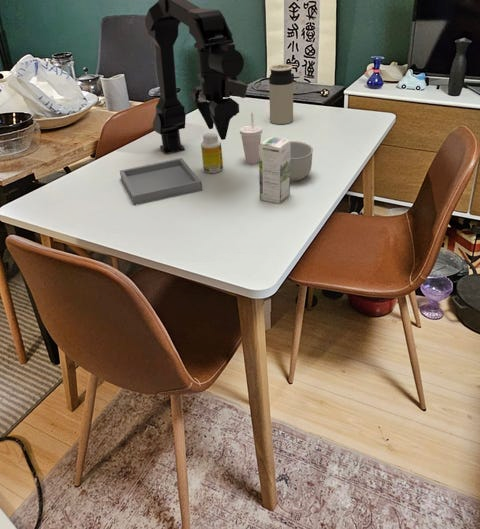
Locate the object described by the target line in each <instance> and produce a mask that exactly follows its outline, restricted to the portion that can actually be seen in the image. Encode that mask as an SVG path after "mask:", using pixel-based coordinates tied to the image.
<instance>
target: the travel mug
mask: <svg viewBox="0 0 480 529" xmlns="http://www.w3.org/2000/svg"><path fill="white" fill-rule="evenodd" d="M269 70H270V75H269V77H268V83H269V84H268V86H269V87H268V88H269V89H268V90H269V120H270V123H272V124H275V125H287V124H290V123H292V122H294V75H293V74H292V70H293V65H292V64H286V63H280V64H274V65H271V66H269Z"/></svg>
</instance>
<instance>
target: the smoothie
mask: <svg viewBox="0 0 480 529" xmlns="http://www.w3.org/2000/svg"><path fill="white" fill-rule="evenodd" d="M250 117H251V118H250V119H251V125H246V126H242V127H241V128H239V134H240V136H241V141H242V147H243V151H244V152H243V153H244V158H245V159H244V160H245V163H246V164H248V165H256V164H259V145H260V144H261V143H262V142H261V140H262V134H263V128H262V126H260V125H254V113H253V112H252V113H250Z"/></svg>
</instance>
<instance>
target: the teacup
mask: <svg viewBox="0 0 480 529" xmlns="http://www.w3.org/2000/svg"><path fill="white" fill-rule="evenodd" d="M290 141H291V153H290V182H298V181H301V180H302V179H304V178H306V176H308V175H309V174H310V173H311V171H312V166H313V165H312V164H313V152H314V148H313V147H312V146H311V145H310V144H308V143H306V142H302V141H298V140H297V141H295V140H294V141H293V140H290Z"/></svg>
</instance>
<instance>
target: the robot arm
mask: <svg viewBox="0 0 480 529" xmlns="http://www.w3.org/2000/svg"><path fill="white" fill-rule="evenodd" d="M181 23H182V24H184V25H185V26H187V27H188V32H189V34H190V35H191V36H192V38H194V40H195V42H194V44H193V48H194V49H197V58H198V68H199V73H197V79H198V80H199V81H200V85H199V86H193V88H192V89H191V91H190V92H191V99H192V100H193V103H194V104H195V106H196V108H197V109H198V111H199V113H200V114H201V116H202V119H203V120H204V122H205V124H206V126H207V127H208V129H209V130H213V129H214V127H215V130H216V131H217V132H216V133H217V135H218V136H219V139H220V141H221V140H222V141H223V140H226V138H227V135H228V130H229V125H230V121H231V119H232V118H233V117H235V116H237V115H238V114H239V113H240V104H239V103H238V102H237V101H235V99H232V98H231V96H235V97H236V96H237V97H240V98H242V99H245V98H246V95H247V90H248V87H249V85H248V84H247V83H245V82H243V81H241V80H238V76H240V75H241V73H242V71H243V69H244V65H245V64H244V63H245V60H244V57H243V55H242V53H241V52H239V51H238V50H237V49H236V44H235V43H234V39H233V33H232V31H231V30H230V28H229V26H228V23H227V21H226V18H225V16H224V15H223V13H222V11H220V10H219V9H216V8H203V7H199V6H198V5H196V4H194V3H193V2H190V1H189V0H158V1H157V2H155V3H154V4H153V5H152V6H150V8H149V9H148V11H147V13H146V15H145V19H144V24H145V27H146V30H147V35H148V36H149V38H150V39H151V41H152V42H153V44H154V45H155V54H156V64H157V65H156V66H157V74H158V84H159V85H158V86H159V94H160V96H159V99H158V102H157V104H156V105H155V116H154V118H153V122H152V127H153V131H154V132H155V133H158V135H160V136H161V137H160V138H161V145H160V146H159V148H160V149H161V151H162V152H163V153H164V154H170V153H175V152H176V153H177V152H181V151H185V150H186V149H185V147H184V146H183V144H182V142H181V141H182V140H181V134H180V130H182V129H183V130H184V129H185V128H186V121H187V120H186V112H185V106H184V105H183V104H182V103H181V101H180V100H179V99H178V90H177V81H176V80H177V79H176V65H175V64H176V63H175V52H174V49H175V48H174V45H175V44H176V42H177V39H178V37H179V26H180V24H181Z"/></svg>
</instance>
